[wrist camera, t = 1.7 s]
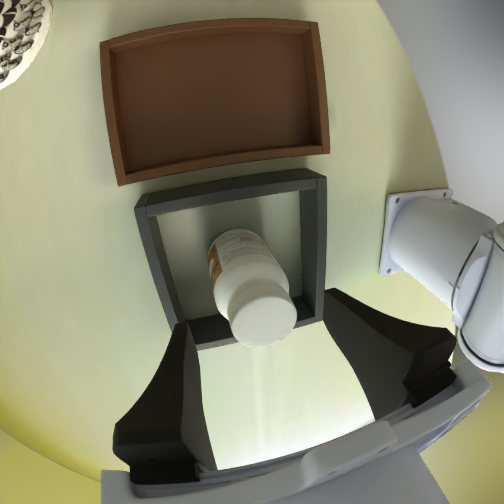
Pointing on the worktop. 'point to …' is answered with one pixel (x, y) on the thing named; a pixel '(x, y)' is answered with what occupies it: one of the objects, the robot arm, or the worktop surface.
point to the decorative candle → (21, 35)
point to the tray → (213, 95)
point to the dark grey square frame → (304, 180)
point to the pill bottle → (250, 288)
